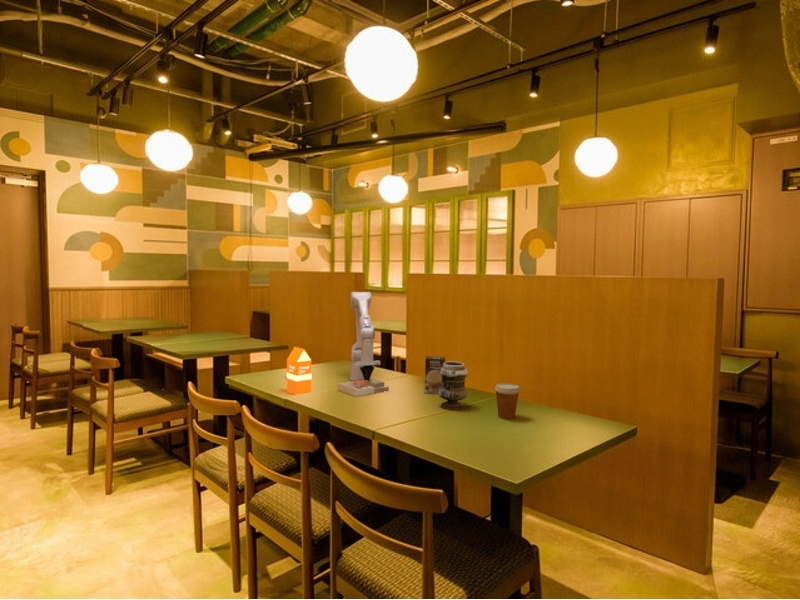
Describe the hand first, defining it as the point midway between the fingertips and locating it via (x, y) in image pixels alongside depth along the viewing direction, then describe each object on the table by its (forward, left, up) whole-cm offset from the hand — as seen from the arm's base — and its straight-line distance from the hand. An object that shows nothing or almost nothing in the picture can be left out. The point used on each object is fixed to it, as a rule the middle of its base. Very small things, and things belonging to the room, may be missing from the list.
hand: (366, 381), depth 241 cm
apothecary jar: (+46, +9, -3) cm, 48 cm away
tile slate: (+7, 0, -1) cm, 7 cm away
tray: (+3, -9, -3) cm, 10 cm away
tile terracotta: (0, -3, -1) cm, 4 cm away
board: (+3, 0, -3) cm, 4 cm away
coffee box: (+25, +19, -3) cm, 32 cm away
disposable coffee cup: (+69, +15, -3) cm, 71 cm away
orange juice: (-13, -29, -3) cm, 31 cm away
